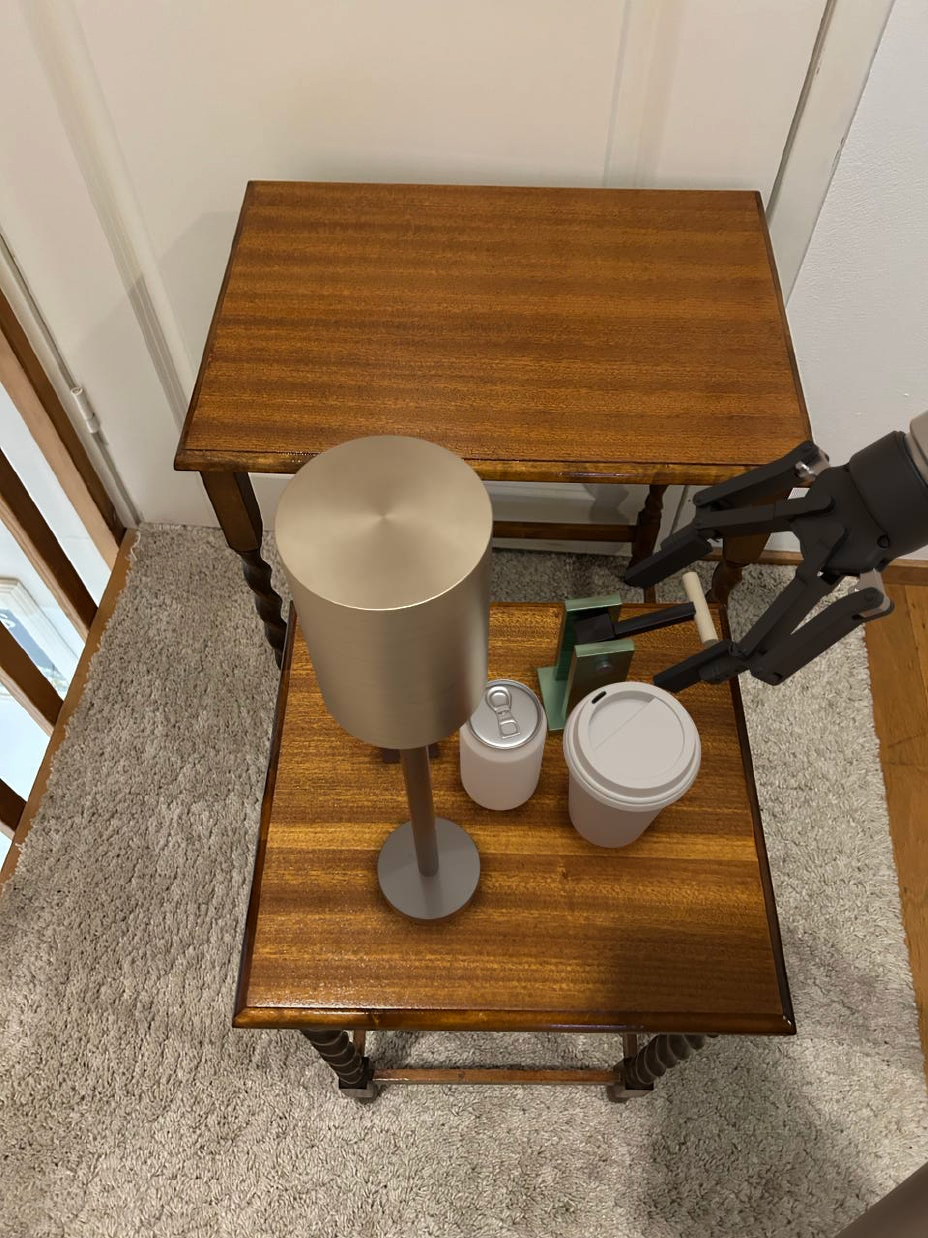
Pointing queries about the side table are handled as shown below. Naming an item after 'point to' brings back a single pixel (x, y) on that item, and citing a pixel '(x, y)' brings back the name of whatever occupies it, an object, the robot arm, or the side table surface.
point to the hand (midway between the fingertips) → (648, 631)
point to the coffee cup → (627, 760)
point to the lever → (653, 619)
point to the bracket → (582, 661)
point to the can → (503, 746)
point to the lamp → (397, 629)
